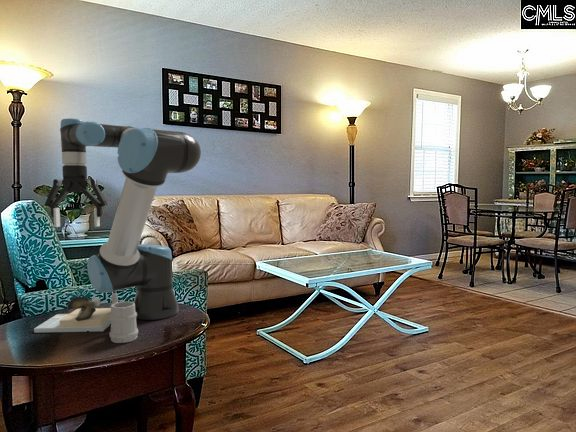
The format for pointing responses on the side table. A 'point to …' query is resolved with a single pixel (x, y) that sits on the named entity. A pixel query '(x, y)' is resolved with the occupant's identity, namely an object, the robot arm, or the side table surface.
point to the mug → (122, 321)
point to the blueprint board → (82, 329)
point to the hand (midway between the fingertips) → (77, 226)
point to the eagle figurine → (84, 306)
